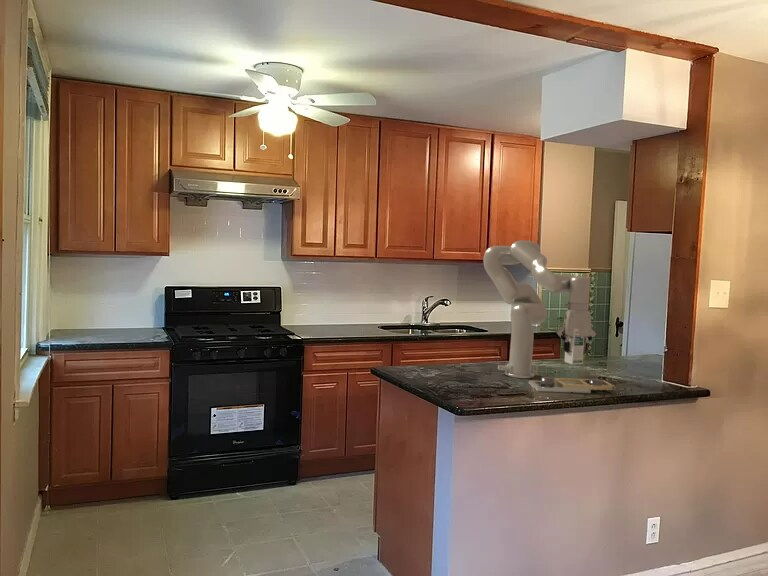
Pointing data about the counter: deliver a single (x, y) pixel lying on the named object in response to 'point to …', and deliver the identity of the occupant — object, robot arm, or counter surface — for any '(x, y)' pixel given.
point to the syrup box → (576, 349)
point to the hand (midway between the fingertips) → (575, 351)
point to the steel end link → (549, 384)
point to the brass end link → (585, 384)
